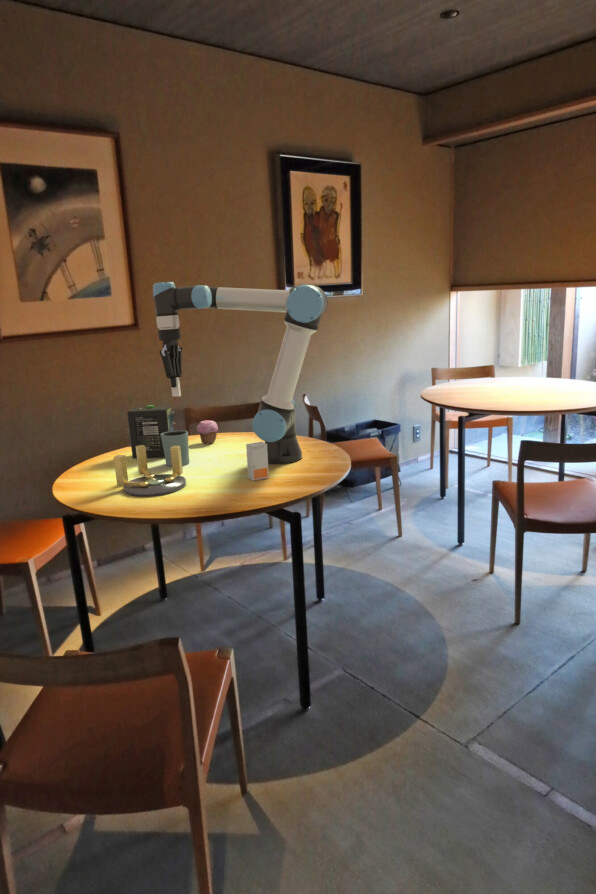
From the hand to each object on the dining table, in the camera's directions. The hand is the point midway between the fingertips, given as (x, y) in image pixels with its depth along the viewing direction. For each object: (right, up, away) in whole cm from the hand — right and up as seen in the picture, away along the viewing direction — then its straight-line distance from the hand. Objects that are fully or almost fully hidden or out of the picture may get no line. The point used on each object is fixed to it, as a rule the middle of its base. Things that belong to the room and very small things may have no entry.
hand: (176, 396), depth 216 cm
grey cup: (-2, -25, +13) cm, 28 cm away
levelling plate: (-4, -31, -15) cm, 35 cm away
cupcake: (+5, -17, +45) cm, 48 cm away
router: (-15, -22, +28) cm, 38 cm away
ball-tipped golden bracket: (-10, -31, -18) cm, 37 cm away
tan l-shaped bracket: (+1, -28, -12) cm, 31 cm away
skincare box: (+30, -29, -11) cm, 43 cm away
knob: (-9, -28, -8) cm, 30 cm away
